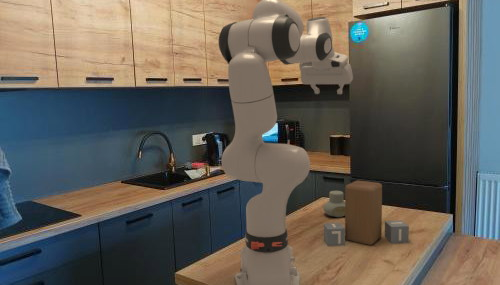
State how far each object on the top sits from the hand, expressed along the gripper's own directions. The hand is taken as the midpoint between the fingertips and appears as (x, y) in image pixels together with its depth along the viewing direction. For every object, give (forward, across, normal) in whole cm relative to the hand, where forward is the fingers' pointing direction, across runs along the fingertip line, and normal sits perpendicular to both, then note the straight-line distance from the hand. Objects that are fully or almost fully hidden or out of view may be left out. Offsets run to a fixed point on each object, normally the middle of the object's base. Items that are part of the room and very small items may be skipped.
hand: (328, 93), depth 150 cm
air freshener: (+50, +2, -15) cm, 52 cm away
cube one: (+42, +30, -29) cm, 60 cm away
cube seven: (+38, +12, -41) cm, 57 cm away
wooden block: (+41, +20, -33) cm, 56 cm away
